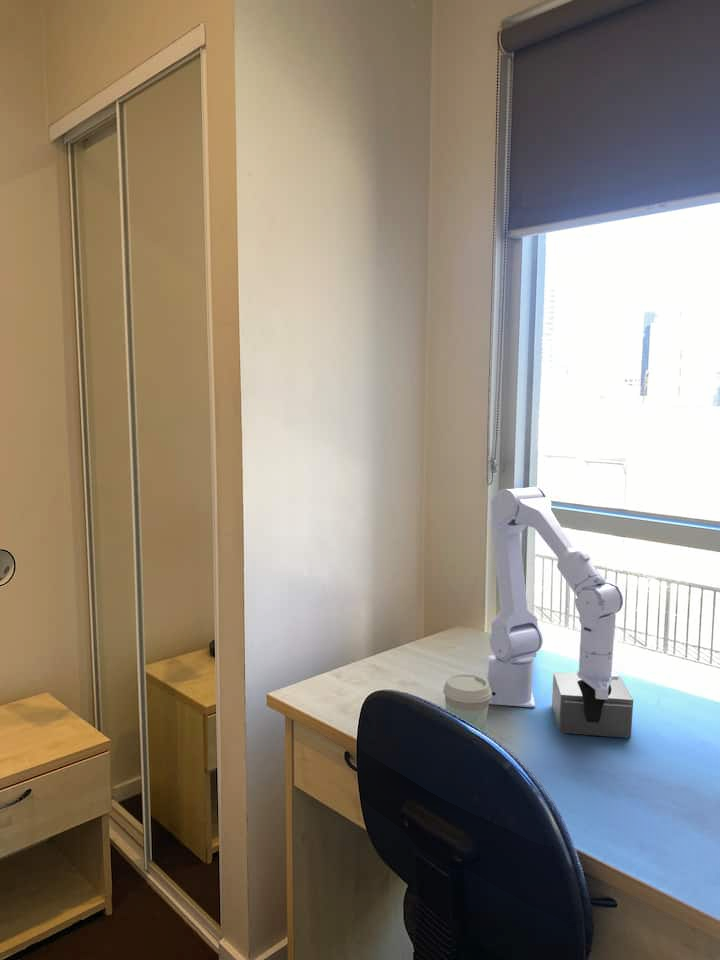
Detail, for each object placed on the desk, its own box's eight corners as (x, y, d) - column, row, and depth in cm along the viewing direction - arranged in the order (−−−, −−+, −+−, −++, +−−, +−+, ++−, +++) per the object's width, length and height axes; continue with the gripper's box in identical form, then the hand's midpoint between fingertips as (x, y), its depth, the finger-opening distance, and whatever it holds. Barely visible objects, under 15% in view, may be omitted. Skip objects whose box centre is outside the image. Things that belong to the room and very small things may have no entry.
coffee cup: (478, 763, 123) (480, 696, 121) (433, 749, 127) (435, 684, 126) (496, 743, 130) (499, 679, 129) (453, 730, 135) (455, 669, 133)
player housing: (559, 730, 135) (560, 694, 134) (551, 705, 146) (553, 672, 145) (630, 736, 133) (633, 699, 132) (618, 710, 144) (620, 676, 143)
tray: (562, 732, 134) (564, 702, 133) (555, 707, 145) (556, 678, 144) (629, 737, 132) (631, 706, 131) (617, 711, 143) (619, 682, 142)
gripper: (628, 665, 123) (623, 741, 124) (611, 637, 137) (607, 705, 138) (585, 663, 123) (581, 738, 125) (572, 635, 138) (569, 702, 139)
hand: (592, 720), depth 132 cm, fingers closed
